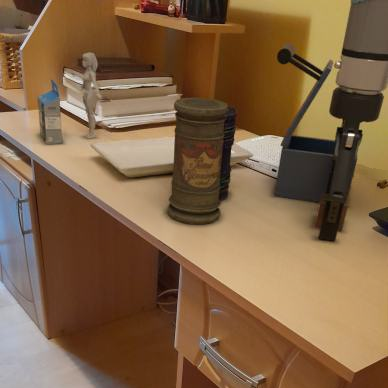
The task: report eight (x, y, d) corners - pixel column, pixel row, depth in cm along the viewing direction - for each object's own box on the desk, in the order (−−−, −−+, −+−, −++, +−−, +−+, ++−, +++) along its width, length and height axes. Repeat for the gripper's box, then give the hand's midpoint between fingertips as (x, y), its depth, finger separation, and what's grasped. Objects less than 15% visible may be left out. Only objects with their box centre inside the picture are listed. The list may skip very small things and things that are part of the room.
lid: (333, 61, 95) (291, 34, 94) (331, 70, 86) (284, 39, 85) (290, 132, 103) (250, 108, 103) (283, 147, 94) (240, 120, 94)
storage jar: (214, 182, 104) (221, 102, 95) (238, 199, 97) (247, 114, 88) (168, 187, 100) (171, 103, 91) (190, 205, 93) (195, 116, 84)
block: (342, 221, 91) (348, 196, 89) (341, 231, 88) (347, 205, 85) (316, 217, 92) (321, 193, 89) (315, 227, 88) (320, 201, 86)
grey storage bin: (346, 187, 107) (357, 142, 101) (345, 206, 97) (357, 159, 92) (281, 178, 109) (288, 134, 104) (274, 196, 100) (281, 149, 95)
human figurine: (77, 131, 129) (71, 48, 118) (91, 130, 130) (87, 48, 120) (94, 144, 121) (89, 56, 110) (109, 143, 122) (106, 56, 112)
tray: (254, 169, 113) (256, 152, 111) (119, 185, 99) (118, 166, 97) (214, 147, 124) (216, 132, 122) (89, 159, 111) (88, 142, 109)
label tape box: (39, 134, 124) (33, 77, 117) (56, 133, 126) (51, 77, 119) (46, 144, 118) (40, 85, 111) (64, 143, 119) (59, 85, 112)
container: (161, 207, 92) (164, 96, 81) (208, 203, 94) (216, 96, 84) (177, 227, 85) (183, 109, 74) (227, 222, 88) (239, 108, 77)
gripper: (336, 74, 88) (311, 196, 100) (331, 101, 68) (300, 249, 80) (381, 79, 87) (350, 202, 99) (389, 108, 67) (349, 257, 79)
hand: (328, 223), depth 90 cm, fingers open, 13 cm apart
